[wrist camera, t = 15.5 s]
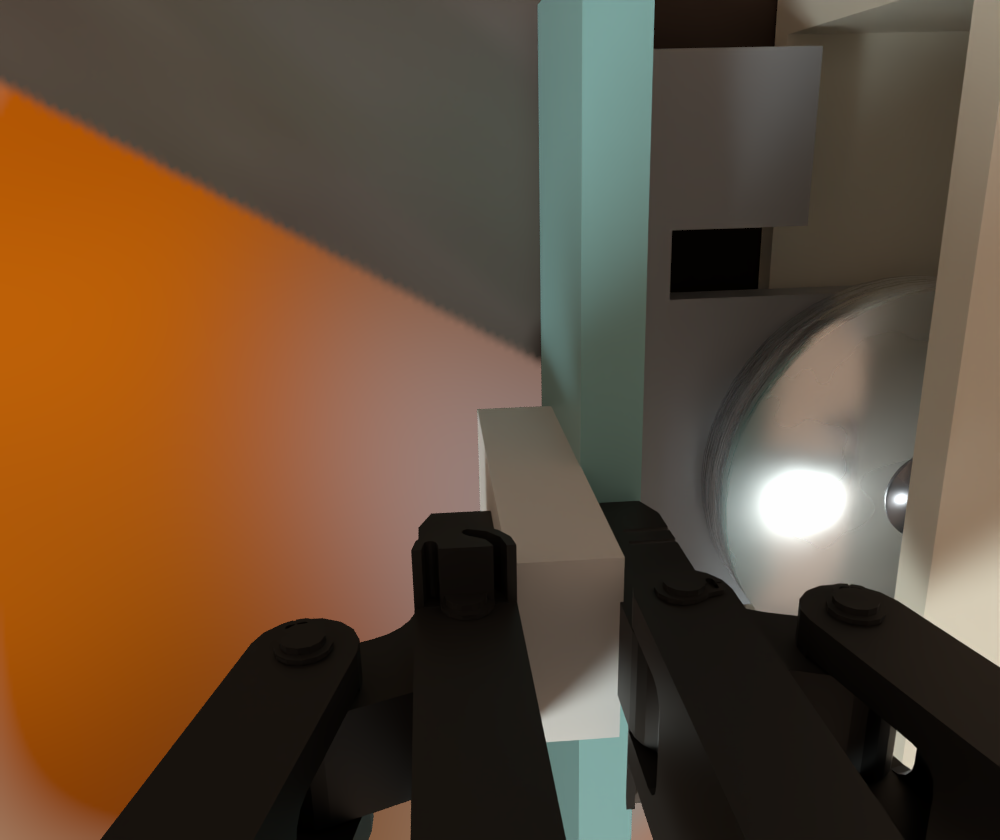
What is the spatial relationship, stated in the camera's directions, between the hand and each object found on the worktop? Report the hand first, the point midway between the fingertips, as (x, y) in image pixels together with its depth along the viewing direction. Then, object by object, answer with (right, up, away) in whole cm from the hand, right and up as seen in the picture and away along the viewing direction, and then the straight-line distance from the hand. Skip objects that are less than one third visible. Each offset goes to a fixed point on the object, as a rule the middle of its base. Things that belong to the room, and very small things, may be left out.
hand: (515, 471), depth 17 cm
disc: (+8, 0, +1) cm, 8 cm away
